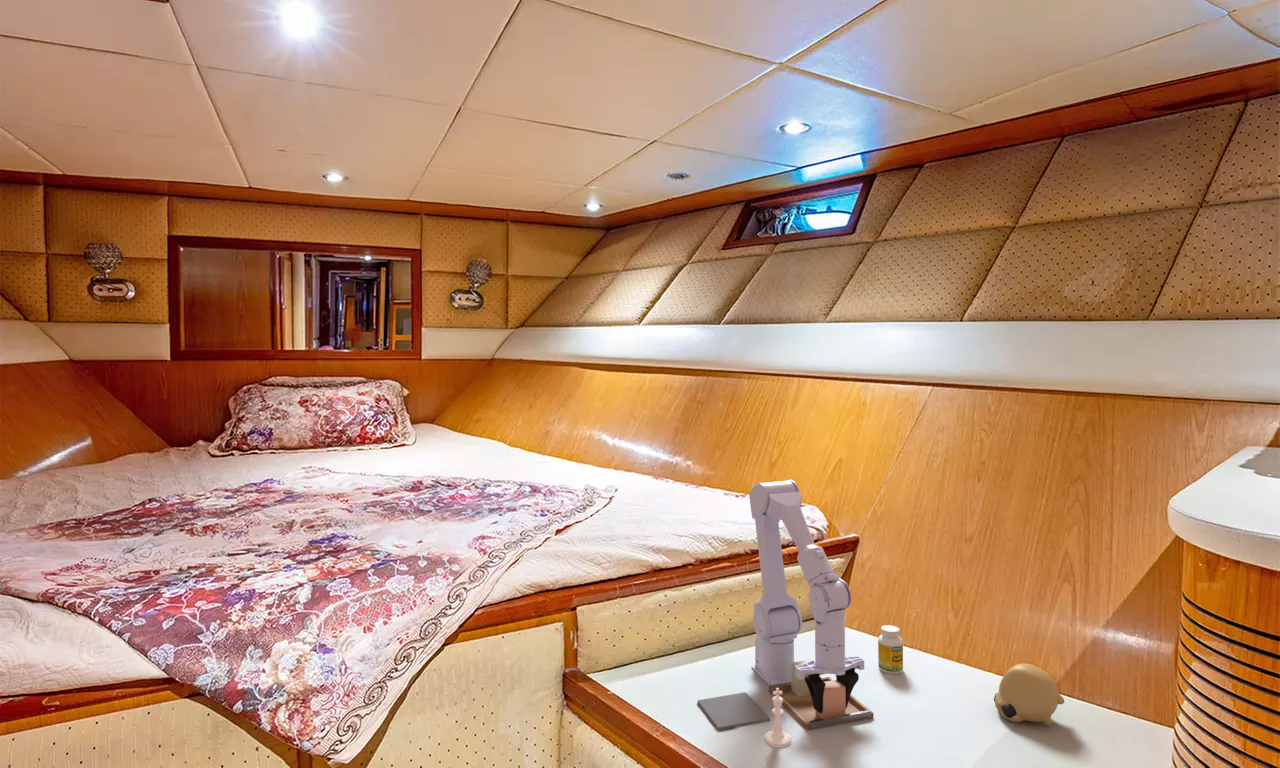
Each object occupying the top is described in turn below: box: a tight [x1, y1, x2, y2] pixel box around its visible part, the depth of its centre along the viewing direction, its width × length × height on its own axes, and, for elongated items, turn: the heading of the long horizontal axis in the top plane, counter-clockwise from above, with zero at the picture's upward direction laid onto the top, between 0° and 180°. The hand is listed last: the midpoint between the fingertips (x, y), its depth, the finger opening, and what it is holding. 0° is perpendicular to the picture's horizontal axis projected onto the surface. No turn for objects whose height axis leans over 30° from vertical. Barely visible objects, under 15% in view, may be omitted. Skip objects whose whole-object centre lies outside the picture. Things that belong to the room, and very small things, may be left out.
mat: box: [697, 691, 771, 731], centre depth 136 cm, size 11×11×1 cm
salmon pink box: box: [815, 679, 846, 719], centre depth 134 cm, size 3×5×6 cm, turn 106°
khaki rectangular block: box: [791, 659, 813, 697], centre depth 144 cm, size 3×5×6 cm, turn 106°
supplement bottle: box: [877, 624, 904, 675], centre depth 154 cm, size 5×5×10 cm
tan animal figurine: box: [993, 662, 1065, 726], centre depth 132 cm, size 10×12×11 cm
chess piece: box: [764, 688, 792, 748], centre depth 126 cm, size 5×5×10 cm
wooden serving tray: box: [768, 676, 874, 731], centre depth 138 cm, size 16×15×2 cm
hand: (830, 708), depth 134 cm, fingers closed on salmon pink box, 5 cm apart
